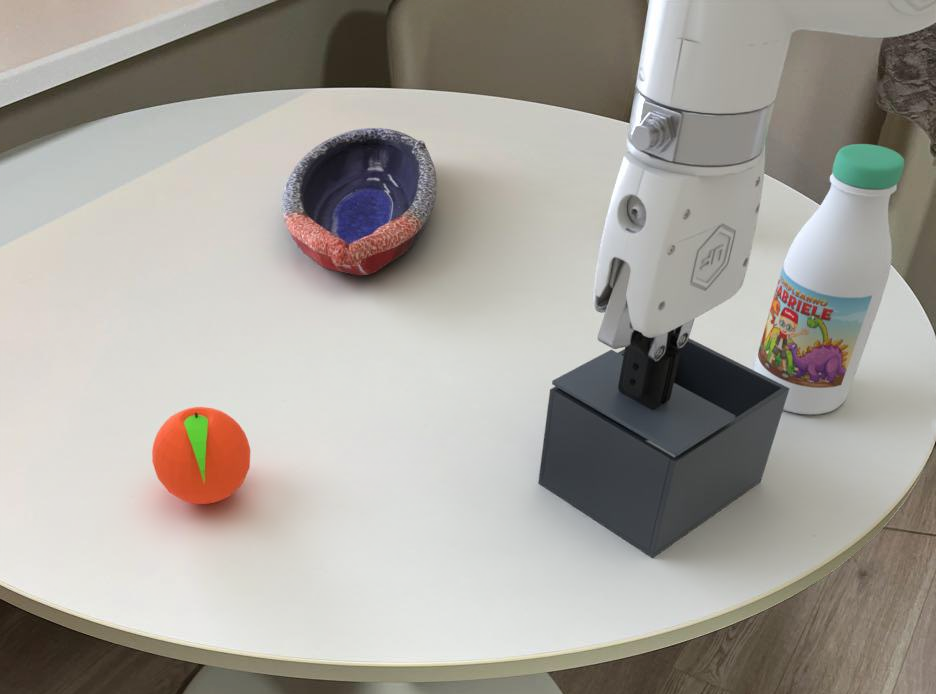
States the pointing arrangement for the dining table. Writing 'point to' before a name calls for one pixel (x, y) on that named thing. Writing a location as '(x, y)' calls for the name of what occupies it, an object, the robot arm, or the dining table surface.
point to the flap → (664, 425)
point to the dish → (360, 199)
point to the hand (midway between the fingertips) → (643, 396)
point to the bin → (663, 455)
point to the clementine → (201, 455)
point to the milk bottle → (832, 284)
